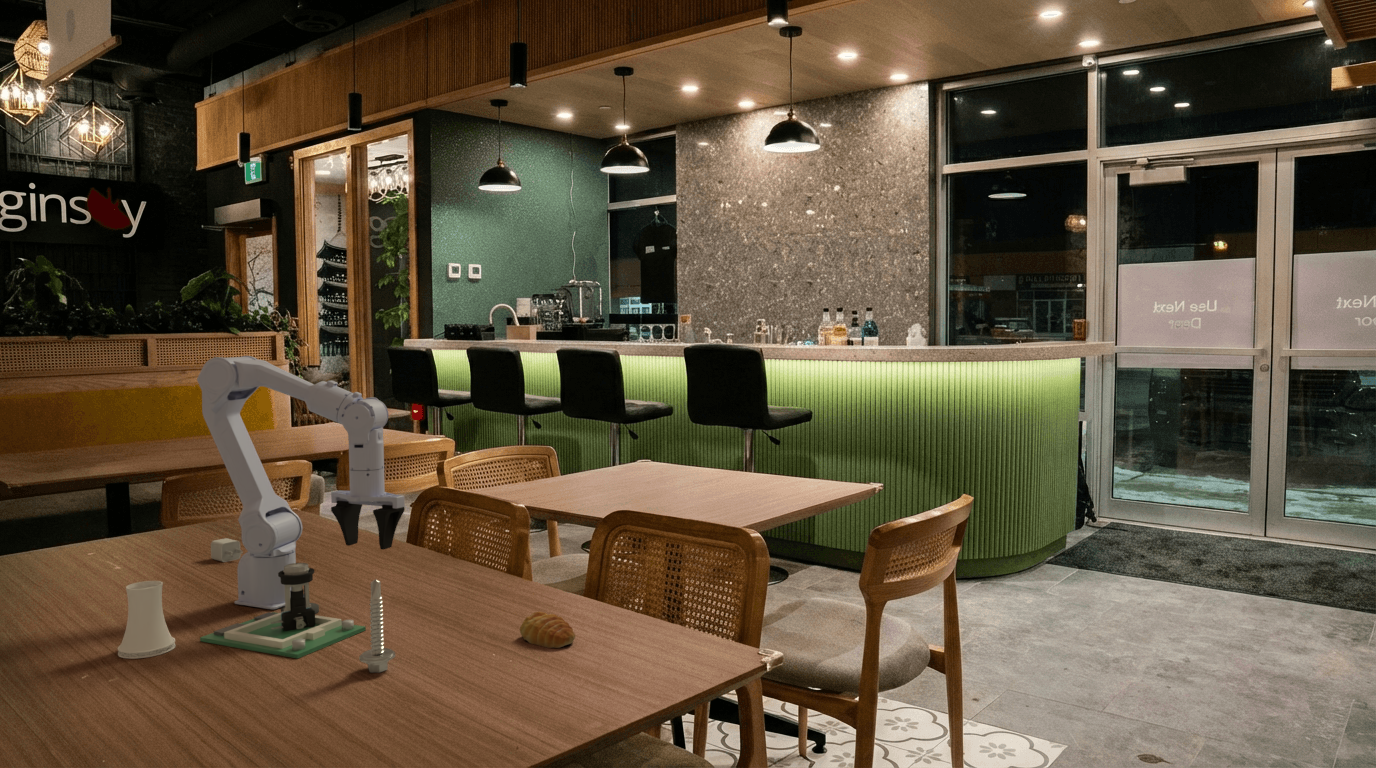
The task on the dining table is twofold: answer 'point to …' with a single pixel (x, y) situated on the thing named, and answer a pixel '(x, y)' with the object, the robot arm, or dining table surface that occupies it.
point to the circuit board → (283, 635)
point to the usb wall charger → (225, 550)
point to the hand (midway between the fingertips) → (368, 546)
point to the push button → (296, 597)
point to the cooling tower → (145, 622)
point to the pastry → (547, 630)
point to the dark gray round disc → (313, 606)
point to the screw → (376, 634)
